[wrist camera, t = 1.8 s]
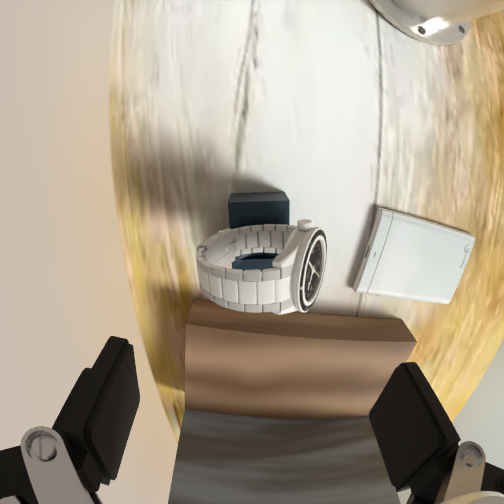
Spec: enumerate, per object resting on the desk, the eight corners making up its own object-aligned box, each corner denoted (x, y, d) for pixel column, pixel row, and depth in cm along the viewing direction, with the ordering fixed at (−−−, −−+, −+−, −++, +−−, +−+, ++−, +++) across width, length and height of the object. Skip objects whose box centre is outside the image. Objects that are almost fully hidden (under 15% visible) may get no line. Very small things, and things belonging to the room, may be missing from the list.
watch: (306, 254, 26) (339, 331, 16) (214, 257, 26) (193, 337, 16) (308, 190, 24) (351, 236, 13) (209, 193, 24) (178, 241, 14)
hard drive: (476, 237, 24) (383, 210, 23) (448, 305, 27) (355, 294, 26) (467, 232, 26) (376, 205, 25) (441, 298, 29) (350, 286, 28)
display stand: (193, 298, 27) (145, 477, 11) (401, 319, 29) (480, 451, 12) (189, 393, 33) (167, 527, 16) (358, 402, 34) (392, 518, 18)
